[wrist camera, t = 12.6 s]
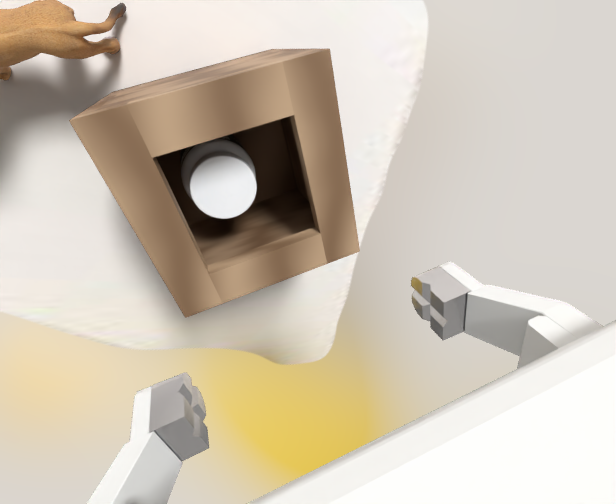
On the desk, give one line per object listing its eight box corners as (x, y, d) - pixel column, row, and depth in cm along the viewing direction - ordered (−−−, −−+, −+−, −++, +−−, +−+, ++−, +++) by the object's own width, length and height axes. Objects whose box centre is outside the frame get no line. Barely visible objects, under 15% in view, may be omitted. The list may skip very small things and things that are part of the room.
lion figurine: (-32, 118, 26) (-113, 145, 19) (-102, 41, 23) (-233, 38, 16) (145, 42, 27) (134, 39, 20) (100, -41, 24) (67, -80, 17)
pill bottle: (247, 177, 34) (270, 216, 26) (190, 190, 33) (195, 235, 25) (234, 118, 31) (255, 141, 23) (171, 129, 30) (169, 158, 22)
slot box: (182, 232, 36) (185, 317, 24) (112, 91, 28) (68, 120, 17) (305, 190, 38) (359, 251, 27) (271, 49, 30) (329, 48, 19)
